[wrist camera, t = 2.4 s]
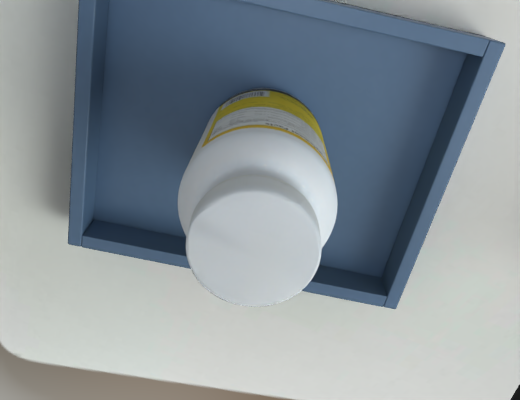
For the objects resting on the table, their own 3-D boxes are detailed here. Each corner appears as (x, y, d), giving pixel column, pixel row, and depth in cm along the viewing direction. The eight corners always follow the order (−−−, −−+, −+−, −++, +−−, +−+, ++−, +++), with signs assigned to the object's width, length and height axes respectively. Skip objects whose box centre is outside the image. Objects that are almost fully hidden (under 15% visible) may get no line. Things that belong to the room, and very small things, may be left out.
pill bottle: (248, 214, 29) (229, 354, 19) (181, 126, 27) (117, 228, 16) (344, 158, 27) (383, 278, 17) (281, 59, 25) (281, 125, 15)
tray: (82, 224, 30) (67, 244, 28) (99, -54, 24) (80, -56, 21) (388, 286, 31) (396, 309, 29) (487, 36, 25) (506, 43, 22)
